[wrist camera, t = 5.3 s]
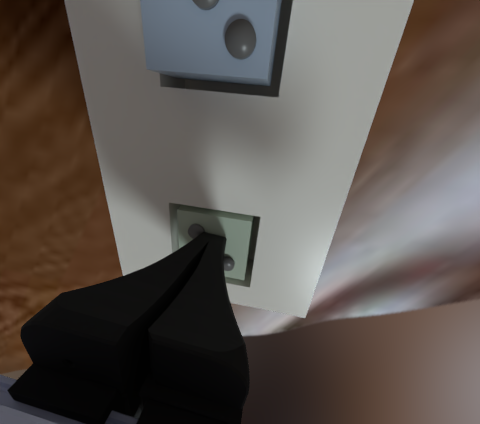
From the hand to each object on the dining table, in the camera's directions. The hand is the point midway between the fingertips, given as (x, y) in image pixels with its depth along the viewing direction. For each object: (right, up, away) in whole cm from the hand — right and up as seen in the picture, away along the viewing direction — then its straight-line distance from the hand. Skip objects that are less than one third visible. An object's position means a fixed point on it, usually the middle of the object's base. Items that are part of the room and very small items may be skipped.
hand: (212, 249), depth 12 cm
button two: (0, +1, +2) cm, 3 cm away
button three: (+1, +9, -4) cm, 10 cm away
